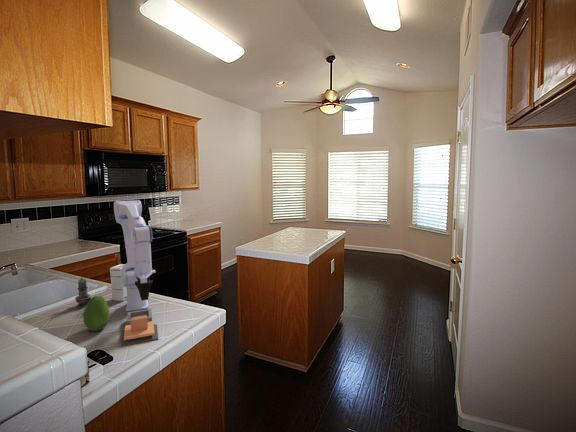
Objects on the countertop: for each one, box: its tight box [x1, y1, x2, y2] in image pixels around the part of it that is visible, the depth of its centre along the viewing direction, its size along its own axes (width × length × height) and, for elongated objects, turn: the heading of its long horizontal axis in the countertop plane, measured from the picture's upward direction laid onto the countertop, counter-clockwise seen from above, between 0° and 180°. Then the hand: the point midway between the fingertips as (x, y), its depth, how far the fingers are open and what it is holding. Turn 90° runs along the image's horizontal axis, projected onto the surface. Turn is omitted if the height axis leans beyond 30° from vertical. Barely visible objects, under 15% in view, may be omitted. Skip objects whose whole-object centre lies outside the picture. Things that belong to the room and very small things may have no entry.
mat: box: [120, 323, 159, 347], centre depth 108 cm, size 11×11×1 cm
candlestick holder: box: [74, 276, 92, 309], centre depth 131 cm, size 6×6×12 cm
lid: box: [124, 315, 155, 340], centre depth 108 cm, size 9×9×6 cm
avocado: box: [82, 295, 111, 332], centre depth 111 cm, size 8×8×12 cm
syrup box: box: [109, 263, 127, 302], centre depth 139 cm, size 6×6×14 cm
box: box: [126, 308, 153, 325], centre depth 117 cm, size 8×8×3 cm
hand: (144, 296), depth 118 cm, fingers open, 7 cm apart
